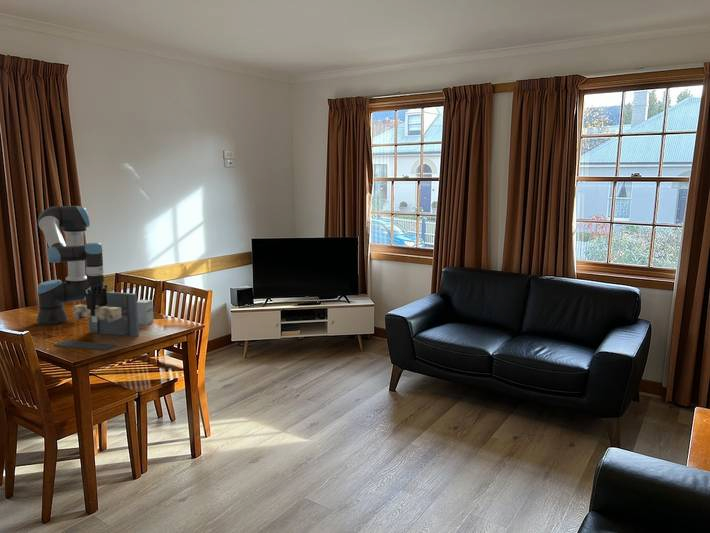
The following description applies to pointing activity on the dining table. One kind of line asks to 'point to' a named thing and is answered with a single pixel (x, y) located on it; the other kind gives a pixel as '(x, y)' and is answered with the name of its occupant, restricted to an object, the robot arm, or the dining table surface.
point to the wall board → (118, 325)
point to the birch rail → (98, 311)
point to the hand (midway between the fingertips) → (98, 320)
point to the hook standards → (109, 319)
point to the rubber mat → (85, 345)
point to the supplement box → (145, 311)
